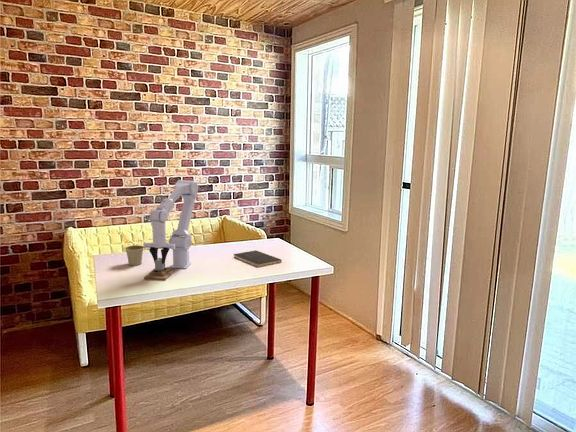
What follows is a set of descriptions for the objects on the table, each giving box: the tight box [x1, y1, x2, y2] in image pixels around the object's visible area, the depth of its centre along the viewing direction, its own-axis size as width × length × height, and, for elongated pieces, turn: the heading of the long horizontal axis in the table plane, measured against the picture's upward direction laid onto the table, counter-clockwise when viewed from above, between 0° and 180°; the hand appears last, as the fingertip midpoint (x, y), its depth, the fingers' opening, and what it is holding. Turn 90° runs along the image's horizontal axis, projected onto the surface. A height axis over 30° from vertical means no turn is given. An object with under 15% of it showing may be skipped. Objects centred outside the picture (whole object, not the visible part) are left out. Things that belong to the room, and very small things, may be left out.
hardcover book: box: [233, 250, 283, 268], centre depth 226 cm, size 16×23×2 cm
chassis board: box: [143, 267, 176, 281], centre depth 195 cm, size 14×10×2 cm
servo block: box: [154, 257, 166, 270], centre depth 195 cm, size 5×3×6 cm, turn 177°
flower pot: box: [124, 244, 145, 266], centre depth 211 cm, size 9×9×9 cm
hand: (159, 263), depth 194 cm, fingers closed on servo block, 3 cm apart
